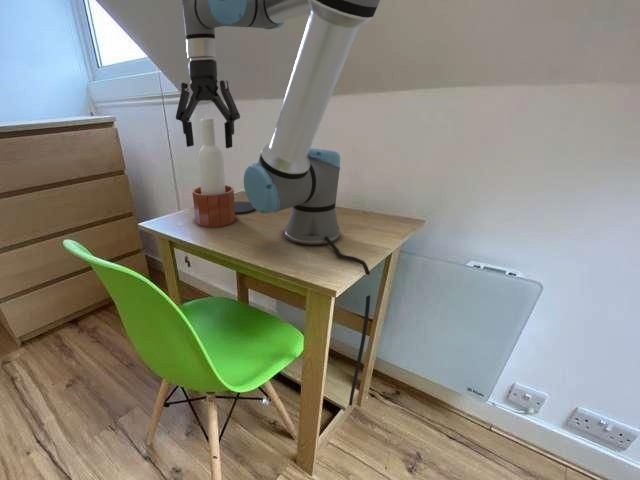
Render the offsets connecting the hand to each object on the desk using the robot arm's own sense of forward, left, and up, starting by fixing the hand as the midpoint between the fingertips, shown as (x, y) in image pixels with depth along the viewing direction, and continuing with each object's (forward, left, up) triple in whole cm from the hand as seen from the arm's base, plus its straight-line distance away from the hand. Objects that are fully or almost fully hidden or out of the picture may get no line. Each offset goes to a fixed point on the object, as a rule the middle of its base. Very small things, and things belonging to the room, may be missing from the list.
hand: (209, 146), depth 101 cm
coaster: (+6, -13, -23) cm, 27 cm away
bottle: (0, 0, -23) cm, 23 cm away
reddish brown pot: (0, 0, -23) cm, 23 cm away
